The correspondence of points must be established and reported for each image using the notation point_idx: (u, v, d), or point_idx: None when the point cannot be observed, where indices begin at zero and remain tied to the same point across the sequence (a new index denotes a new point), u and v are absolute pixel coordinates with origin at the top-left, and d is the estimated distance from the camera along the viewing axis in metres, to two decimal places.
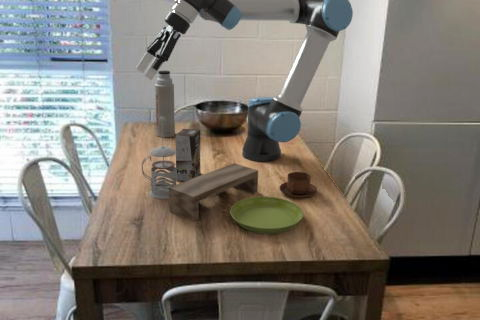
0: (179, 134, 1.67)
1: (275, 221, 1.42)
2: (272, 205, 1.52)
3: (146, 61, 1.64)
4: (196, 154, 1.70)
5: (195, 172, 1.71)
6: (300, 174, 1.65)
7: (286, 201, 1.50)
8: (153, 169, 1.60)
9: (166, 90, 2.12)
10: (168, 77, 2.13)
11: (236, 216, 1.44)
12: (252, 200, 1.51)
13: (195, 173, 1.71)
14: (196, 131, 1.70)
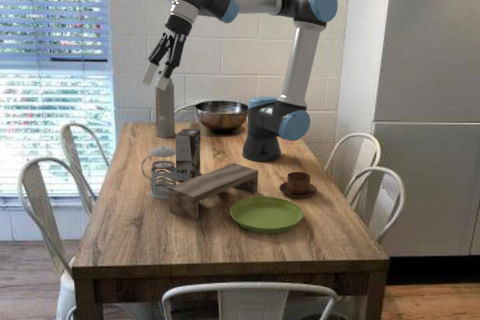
0: (179, 134, 1.67)
1: (275, 221, 1.42)
2: (272, 205, 1.52)
3: (151, 72, 1.53)
4: (196, 154, 1.70)
5: (195, 172, 1.71)
6: (300, 174, 1.65)
7: (286, 201, 1.50)
8: (153, 169, 1.60)
9: (166, 90, 2.12)
10: None
11: (236, 216, 1.44)
12: (252, 200, 1.51)
13: (195, 173, 1.71)
14: (196, 131, 1.70)
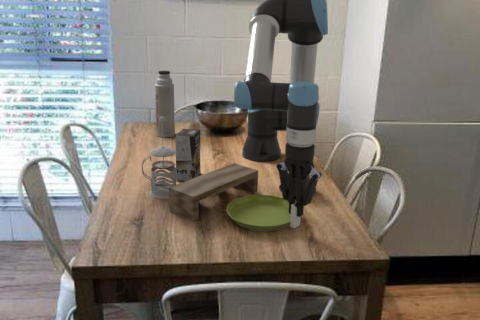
0: (179, 134, 1.67)
1: (271, 219, 1.43)
2: (268, 203, 1.52)
3: None
4: (196, 154, 1.70)
5: (195, 172, 1.71)
6: None
7: (282, 199, 1.51)
8: (153, 169, 1.60)
9: (166, 90, 2.12)
10: (168, 77, 2.13)
11: (232, 214, 1.45)
12: (248, 198, 1.52)
13: (195, 173, 1.71)
14: (196, 131, 1.70)
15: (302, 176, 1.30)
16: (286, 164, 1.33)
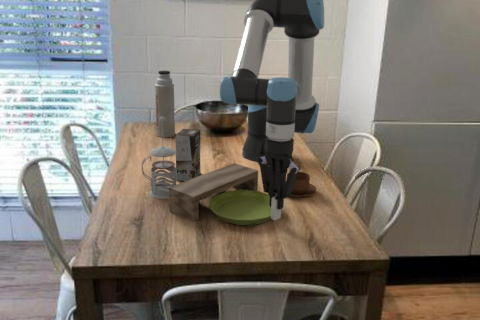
0: (179, 134, 1.67)
1: (253, 213, 1.47)
2: (251, 198, 1.56)
3: None
4: (196, 154, 1.70)
5: (195, 172, 1.71)
6: (299, 173, 1.65)
7: (265, 194, 1.55)
8: (153, 169, 1.60)
9: (166, 90, 2.12)
10: (168, 77, 2.13)
11: (215, 208, 1.49)
12: (232, 193, 1.56)
13: (195, 173, 1.71)
14: (196, 131, 1.70)
15: (281, 169, 1.34)
16: (266, 158, 1.37)
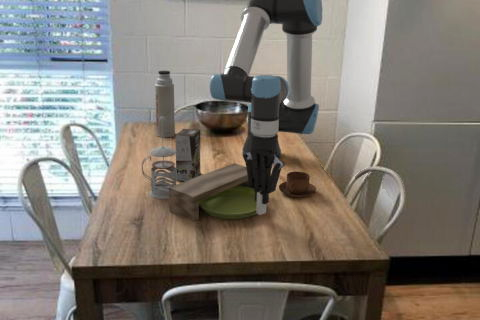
0: (179, 134, 1.67)
1: (240, 208, 1.50)
2: (238, 193, 1.59)
3: None
4: (196, 154, 1.70)
5: (195, 172, 1.71)
6: (299, 173, 1.65)
7: (252, 189, 1.58)
8: (153, 169, 1.60)
9: (166, 90, 2.12)
10: (168, 77, 2.13)
11: (203, 203, 1.52)
12: None
13: (195, 173, 1.71)
14: (196, 131, 1.70)
15: (266, 165, 1.37)
16: (251, 154, 1.40)
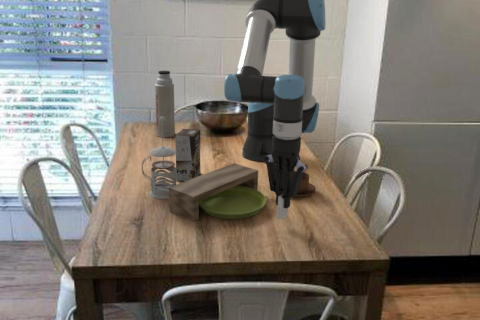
0: (179, 134, 1.67)
1: (240, 208, 1.50)
2: (238, 193, 1.59)
3: None
4: (196, 154, 1.70)
5: (195, 172, 1.71)
6: None
7: (252, 189, 1.58)
8: (153, 169, 1.60)
9: (166, 90, 2.12)
10: (168, 77, 2.13)
11: (203, 203, 1.52)
12: None
13: (195, 173, 1.71)
14: (196, 131, 1.70)
15: (288, 168, 1.32)
16: (273, 156, 1.35)
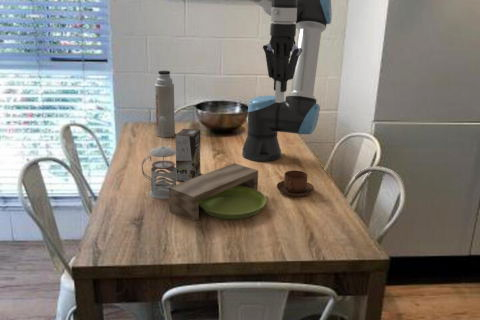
0: (179, 134, 1.67)
1: (240, 208, 1.50)
2: (238, 193, 1.59)
3: None
4: (196, 154, 1.70)
5: (195, 172, 1.71)
6: (297, 172, 1.66)
7: (252, 189, 1.58)
8: (153, 169, 1.60)
9: (166, 90, 2.12)
10: (168, 77, 2.13)
11: (203, 203, 1.52)
12: None
13: (195, 173, 1.71)
14: (196, 131, 1.70)
15: (285, 52, 1.48)
16: (271, 44, 1.51)
